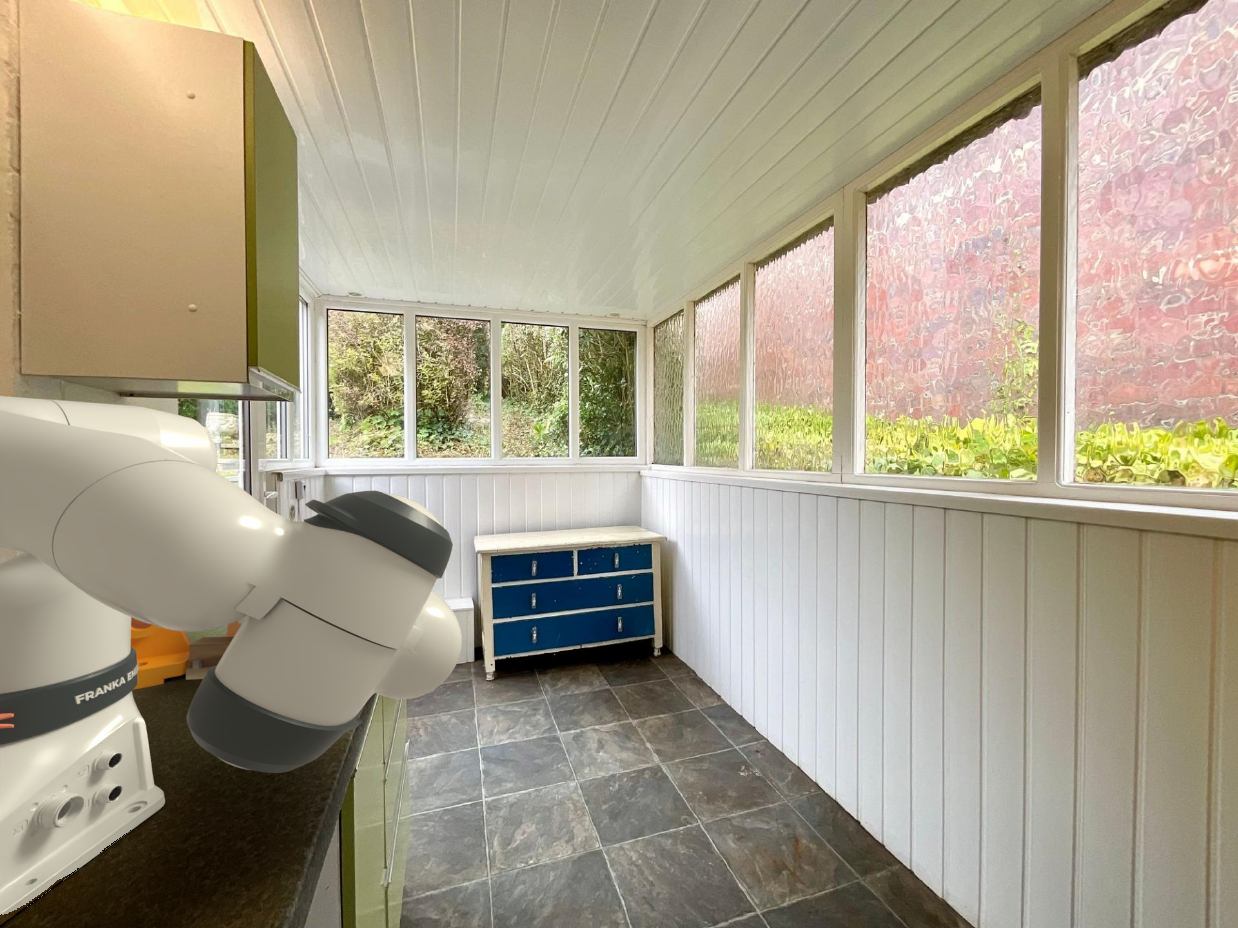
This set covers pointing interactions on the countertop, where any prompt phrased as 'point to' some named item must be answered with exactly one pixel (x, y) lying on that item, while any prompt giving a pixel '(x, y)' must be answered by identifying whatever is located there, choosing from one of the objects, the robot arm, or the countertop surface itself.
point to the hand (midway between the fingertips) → (241, 596)
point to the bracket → (158, 653)
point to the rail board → (205, 655)
